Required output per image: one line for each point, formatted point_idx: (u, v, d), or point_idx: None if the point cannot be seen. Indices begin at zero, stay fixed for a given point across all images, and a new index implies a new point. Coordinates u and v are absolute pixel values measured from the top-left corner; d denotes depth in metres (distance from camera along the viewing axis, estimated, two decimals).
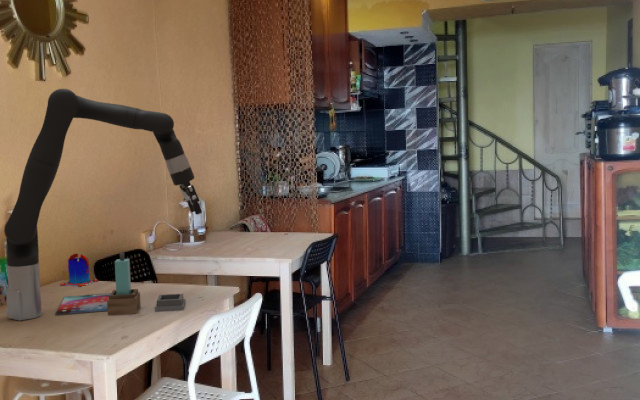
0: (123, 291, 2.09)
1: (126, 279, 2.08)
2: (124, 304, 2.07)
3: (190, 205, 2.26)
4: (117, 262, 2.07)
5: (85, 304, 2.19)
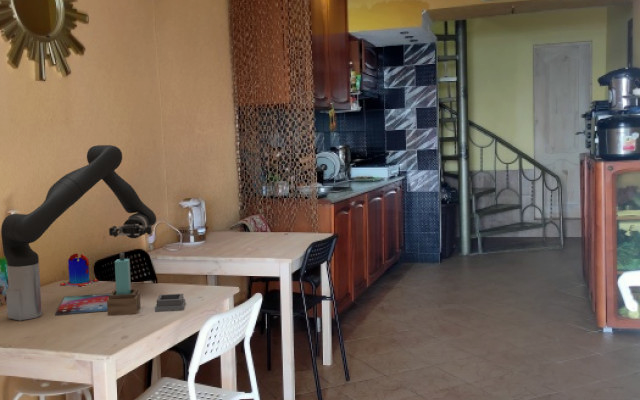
0: (123, 291, 2.09)
1: (126, 279, 2.08)
2: (124, 304, 2.07)
3: (117, 231, 2.22)
4: (117, 262, 2.07)
5: (85, 304, 2.19)
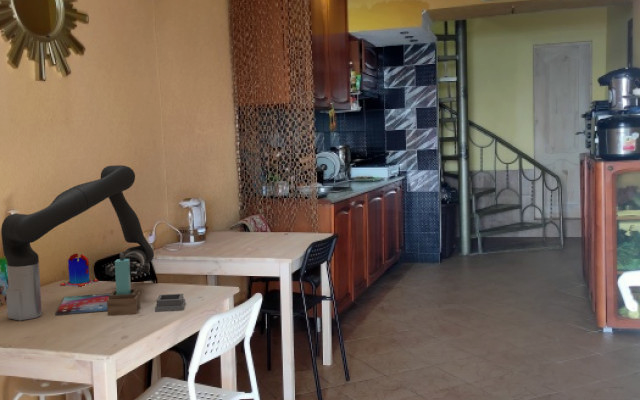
0: (123, 291, 2.09)
1: (126, 279, 2.08)
2: (124, 304, 2.07)
3: (113, 270, 2.15)
4: (117, 262, 2.07)
5: (85, 304, 2.19)
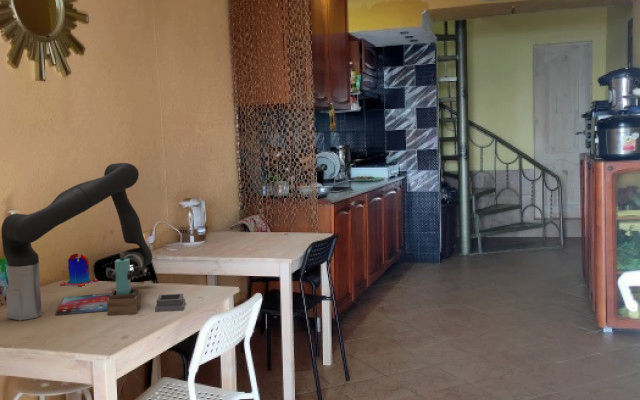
0: (123, 291, 2.09)
1: (126, 279, 2.08)
2: (124, 304, 2.07)
3: None
4: (117, 262, 2.07)
5: (85, 304, 2.19)
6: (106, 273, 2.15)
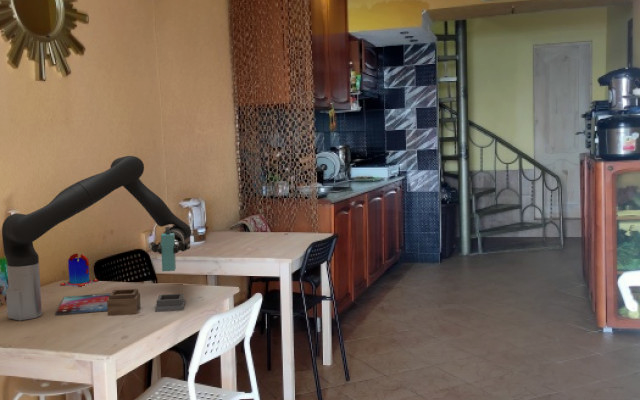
0: (169, 265, 2.11)
1: (172, 253, 2.11)
2: (124, 304, 2.07)
3: None
4: (163, 236, 2.10)
5: (85, 304, 2.19)
6: None
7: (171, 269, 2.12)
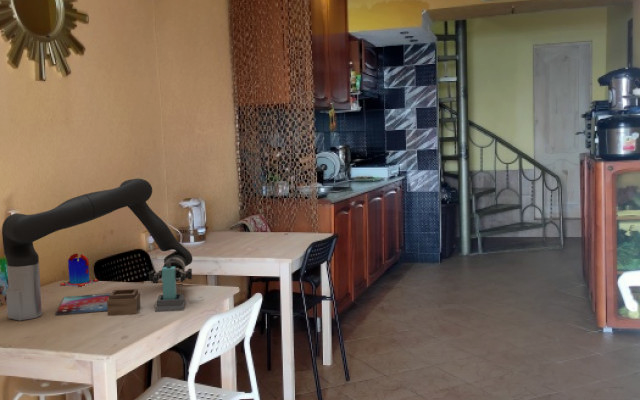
0: (170, 298, 2.12)
1: (173, 286, 2.12)
2: (124, 304, 2.07)
3: (157, 276, 2.14)
4: (164, 270, 2.11)
5: (85, 304, 2.19)
6: None
7: None
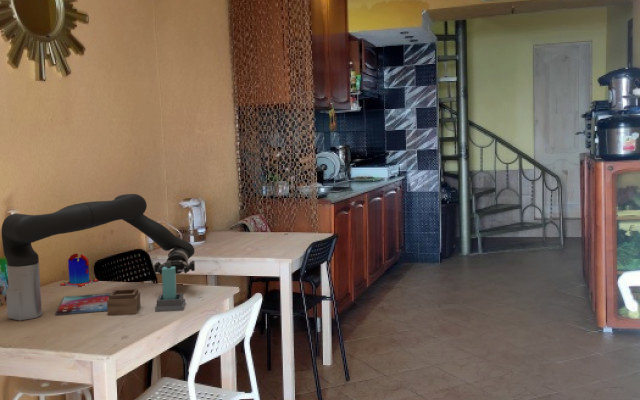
0: (170, 298, 2.12)
1: (173, 286, 2.12)
2: (124, 304, 2.07)
3: None
4: (164, 270, 2.11)
5: (85, 304, 2.19)
6: None
7: None
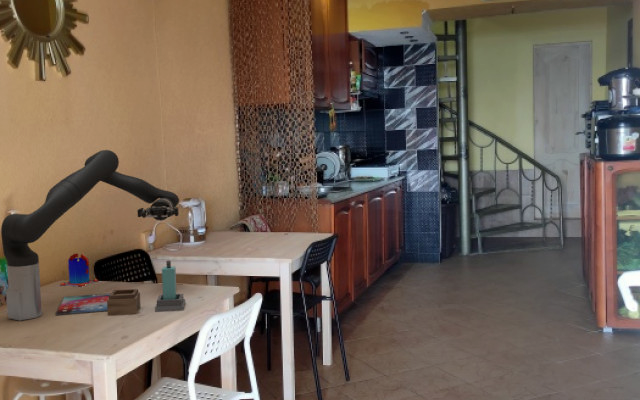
0: (170, 298, 2.12)
1: (173, 286, 2.12)
2: (124, 304, 2.07)
3: (145, 212, 2.26)
4: (164, 270, 2.11)
5: (85, 304, 2.19)
6: None
7: None
